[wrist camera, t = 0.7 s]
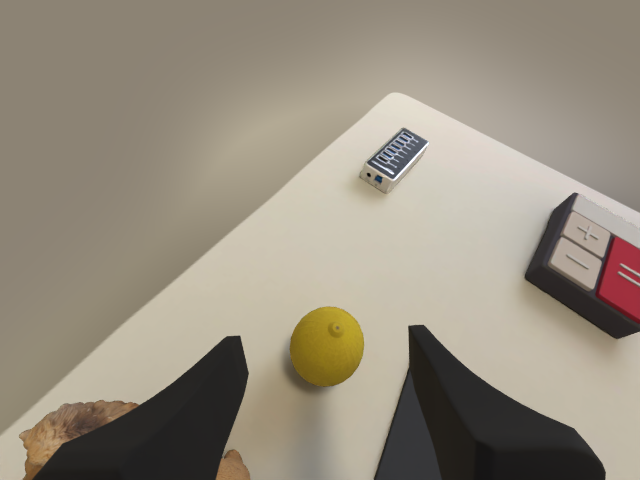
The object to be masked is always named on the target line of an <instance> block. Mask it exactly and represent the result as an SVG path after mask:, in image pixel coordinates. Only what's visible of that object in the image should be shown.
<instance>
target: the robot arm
mask: <svg viewBox="0 0 640 480" xmlns="http://www.w3.org/2000/svg"><path fill="white" fill-rule="evenodd" d="M408 329H409V364H410V371H411V375H412V380H413V385H414V389H415V392H416V395H417V398H418V401H419V404H420V407H421V410H422V413H423V416H424V419H425V422H426V425H427V428H428V431H429V434H430V437H431V440H432V443H433V446H434V450H435V453H436V457H437V462H438V466H439V470H440V474H441V478H442V480H605V474H606V472H605V469H604V467H603V464H602V462H601V461H600V460H599V458H598V457H597V456H596V454H595V453H594V452H593V450H592V449H591V448H590V447H589V445H588V444H587V443H586V442H585V440H584V439H583V438H582V437H581V436H580V435H579V434H578V433H577V431H576V430H575V429H574V428H572V427H570V426H567V425H565V424H563V423H560V422H558V421H556V420H553V419H551V418H549V417H546V416H544V415H542V414H540V413H538V412H536V411H534V410H532V409H530V408H528V407H526V406H524V405H522V404H521V403H519V402H517V401H515V400H513V399H512V398H510V397H508V396H507V395H505V394H503V393H502V392H500V391H498V390H497V389H495V388H494V387H492V386H491V385H489V384H488V383H486V382H485V381H484V380H482V379H481V378H480V377H478V376H477V375H475V374H474V373H473V372H472V371H470V370H469V369H468V368H467V367H466V366H464V365H463V364H462V363H461V362H460V361H459V360H458V359H457V358H455V357H454V356H453V355H452V354H451V353H450V352H449V351H448V350H447V349H446V348H445V347H444V346H443V345H442V344H441V343H440V342H439V341H438V340H437V339H436V338H435V336H434V335H433V334H432V333H431V332H430V331H429V330H428V329H427V328H426V327H425V326H424V325H412V326H408ZM248 375H249V373H248V368H247V364H246V359H245V355H244V351H243V346H242V342H241V337H240V336H227V337H225V338H224V339H223V340H222V341H221V342H219V343H218V344H217V345H216V346H215V347H214V348H213V349H212V350H211V351H210V352H208V353H207V354H206V355H205V356H204V357H203V358H202V359H201V360H200V361H198V362H197V363H196V364H195V365H194V366H193V367H192V368H190V369H189V370H188V371H187V372H185V373H184V374H183V375H182V376H181V377H179V378H178V379H177V380H176V381H174V382H173V383H172V384H170V385H169V386H168V387H166V388H165V389H164V390H162V391H161V392H159V393H158V394H156V395H155V396H154V397H152V398H151V399H149V400H147V401H146V402H144V403H142V404H141V405H139V406H137V407H136V408H134V409H133V410H131V411H129V412H128V413H126V414H124V415H122V416H120V417H118V418H117V419H115V420H113V421H111V422H109V423H107V424H105V425H103V426H101V427H99V428H97V429H95V430H93V431H90V432H88V433H86V434H83V435H81V436H79V437H77V438H74V439H72V440H70V441H67V442H65V443H63V444H62V445H61V446H60V447H59V448H58V449H57V450H56V452H55V453H54V454H53V455H52V456H51V457H50V459H49V460H48V461H47V462H46V463H45V465H44V466H43V467H42V468H41V469H40V470H39V472H38V473H37V474H36V475H35V476H34V477H33V479H32V480H216V477H217V473H218V469H219V465H220V461H221V458H222V455H223V452H224V448H225V445H226V443H227V440H228V437H229V435H230V432H231V429H232V427H233V424H234V421H235V419H236V416H237V413H238V411H239V408H240V405H241V402H242V399H243V397H244V393H245V389H246V384H247V379H248Z"/></svg>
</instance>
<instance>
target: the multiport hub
mask: <svg viewBox="0 0 640 480" xmlns="http://www.w3.org/2000/svg"><path fill="white" fill-rule="evenodd" d="M428 145H429V142H428V141H427V140H425V139H423V138H422V137H420V136H418V135H416V134H415V133H413V132H411V131H409V130H408V129H406V128H401V129H400V130H399V131H398V132H397V133H396V134H395V135H394V136H393V137H392V138H391V139H389V140H388V141H387V142H386V143H385V144H384V145H383V146H382V147H381V148H380V149H379V150H378V151H376V152H375V153H374V154H373V155H372V156H371V157H370V158H369V159H368V160H367V161H366V162H365V163H364V166H363V169H362V171H361V174H360V177H361V178H362V179H364V180H365V181H367V182H368V183H370V184H371V185H373V186H375V187H376V188H378V189H379V190H381V191H382V192H384V193H389V192H390V191H391V190H392V189H393V188H394V187H395V186H396V185H397V184H398V182H399V181H400V180H401V179H402V178H403V177H404V176H405V175H406V174H407V172H408V171H409V170H410V169H411V168H412V167H413V166H414V165H415V164H416V162H417V161H418V160H419V159H420V158H421V157H422V156H423V154H424V152H425V150H426V148H427V146H428Z"/></svg>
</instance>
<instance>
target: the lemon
mask: <svg viewBox="0 0 640 480" xmlns="http://www.w3.org/2000/svg"><path fill="white" fill-rule="evenodd" d="M363 349H364V338H363V333H362V331H361V328H360V325H359V324H358V322H357V321H356V319H355V318H354V317H353V316H352V315H351V314H349V313H348V312H346V311H344V310H343V309H340V308H337V307H322V308H318V309H316V310H313V311H311V312H310V313H308V314H307V315H306V316H304V317H303V318H302V319H301V320H300V322H299V323H298V324H297V326H296V327H295V329H294V332H293V334H292V337H291V342H290V355H291V360H292V363H293V365H294V368H295V369H296V371H297V372H298V373H299V375H300V376H301V377H302V378H304V379H305V380H306V381H308V382H310V383H312V384H314V385H317V386H323V387H325V386H334V385H337V384H339V383H342V382H344V381H345V380H346V379H348V378H349V377H350V376H351V375H352V374H353V373H354V372H355V370H356V369H357V368H358V366H359V364H360V361H361V359H362V356H363Z"/></svg>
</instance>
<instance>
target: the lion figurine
mask: <svg viewBox="0 0 640 480" xmlns="http://www.w3.org/2000/svg"><path fill="white" fill-rule="evenodd" d="M137 406H139V405H138V404H136V403H133V402H129V403H124V402H123V401H113V402H105V401H104V400H100V401H97V402H95V403H94V402H88V403H85V404H84V403H81V402H79V403H74V404H68V403H67V404H63V405H62V406H60V408H59V409H58V410H57V411H54V412H51V413H49V414H47V415H46V416H45V417H44V418H43V419H42V420H41V421H40V422H39V423H38V424H36V425H35V427H33V428H32V429H30V430H26V431H24V432H22V433H21V434H20V435H19V438H20V439H22V440H23V441H24V444H23V446H24V447H25V448H26V449H27V457H28V458H27V460H26V462H25V471H26V473H27V474H26V476H25V477H24V478H23V480H32V479H33V477H34V476H35V475H36V474H37V473H38V472H39V470H40V469H41V468H42V467H43V466H44V465H45V463H46V462H47V461H48V460H49V459H50V457H51V456H52V455H53V454H54V453H55V452H56V450H57V449H58V448H59V447H60V446H61V445H62V444H63V443H65V442H67V441H70V440H72V439H74V438H77V437H79V436H81V435H83V434H86V433H88V432H90V431H93V430H95V429H97V428H99V427H101V426H103V425H105V424H107V423H109V422H111V421H113V420H115V419H117V418H118V417H120V416H122V415H124V414H126V413H128V412H129V411H131V410H133V409H134V408H136V407H137ZM216 480H250V475H249V471H248V469H247V468H246V466H245V465H244V464H243V462H242V458H241V456H240V454H239V453H238V452H237V451H236V450H229V451H228V452H227V453H226V455H225V457H224V459H223V458H221V461H220V465H219V469H218V473H217V477H216Z"/></svg>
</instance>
